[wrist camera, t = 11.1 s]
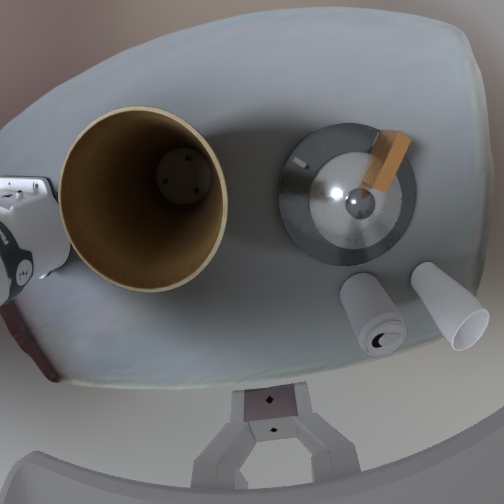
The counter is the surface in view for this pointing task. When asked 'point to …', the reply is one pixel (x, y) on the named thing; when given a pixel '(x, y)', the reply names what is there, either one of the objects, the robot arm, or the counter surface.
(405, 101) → the counter surface
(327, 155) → the dial plate
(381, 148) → the dial
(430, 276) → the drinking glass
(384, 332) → the beverage can
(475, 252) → the counter surface
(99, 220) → the plant pot
